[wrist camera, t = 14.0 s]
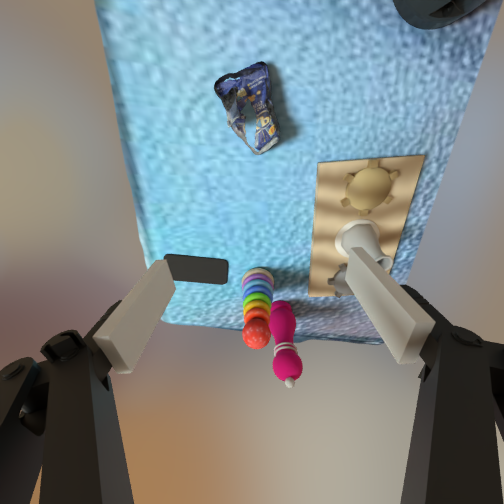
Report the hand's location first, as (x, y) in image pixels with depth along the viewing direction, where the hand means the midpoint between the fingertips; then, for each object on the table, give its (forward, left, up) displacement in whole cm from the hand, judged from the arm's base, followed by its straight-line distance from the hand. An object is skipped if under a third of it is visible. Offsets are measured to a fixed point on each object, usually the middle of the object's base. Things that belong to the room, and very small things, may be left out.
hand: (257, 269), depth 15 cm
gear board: (-7, +23, -29) cm, 37 cm away
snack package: (-8, -10, -29) cm, 32 cm away
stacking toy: (+16, +16, -29) cm, 37 cm away
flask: (-7, +23, -27) cm, 36 cm away
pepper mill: (+19, +27, -29) cm, 44 cm away
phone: (+24, +3, -29) cm, 38 cm away
